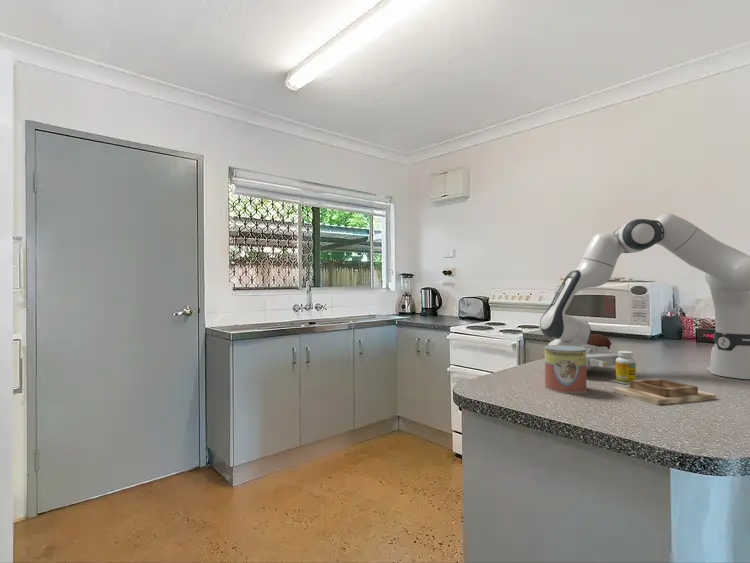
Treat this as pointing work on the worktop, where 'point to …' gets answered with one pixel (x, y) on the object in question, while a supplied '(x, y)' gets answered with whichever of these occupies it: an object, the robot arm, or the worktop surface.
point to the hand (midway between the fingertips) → (616, 363)
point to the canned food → (565, 368)
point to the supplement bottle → (625, 367)
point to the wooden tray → (663, 391)
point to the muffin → (599, 340)
